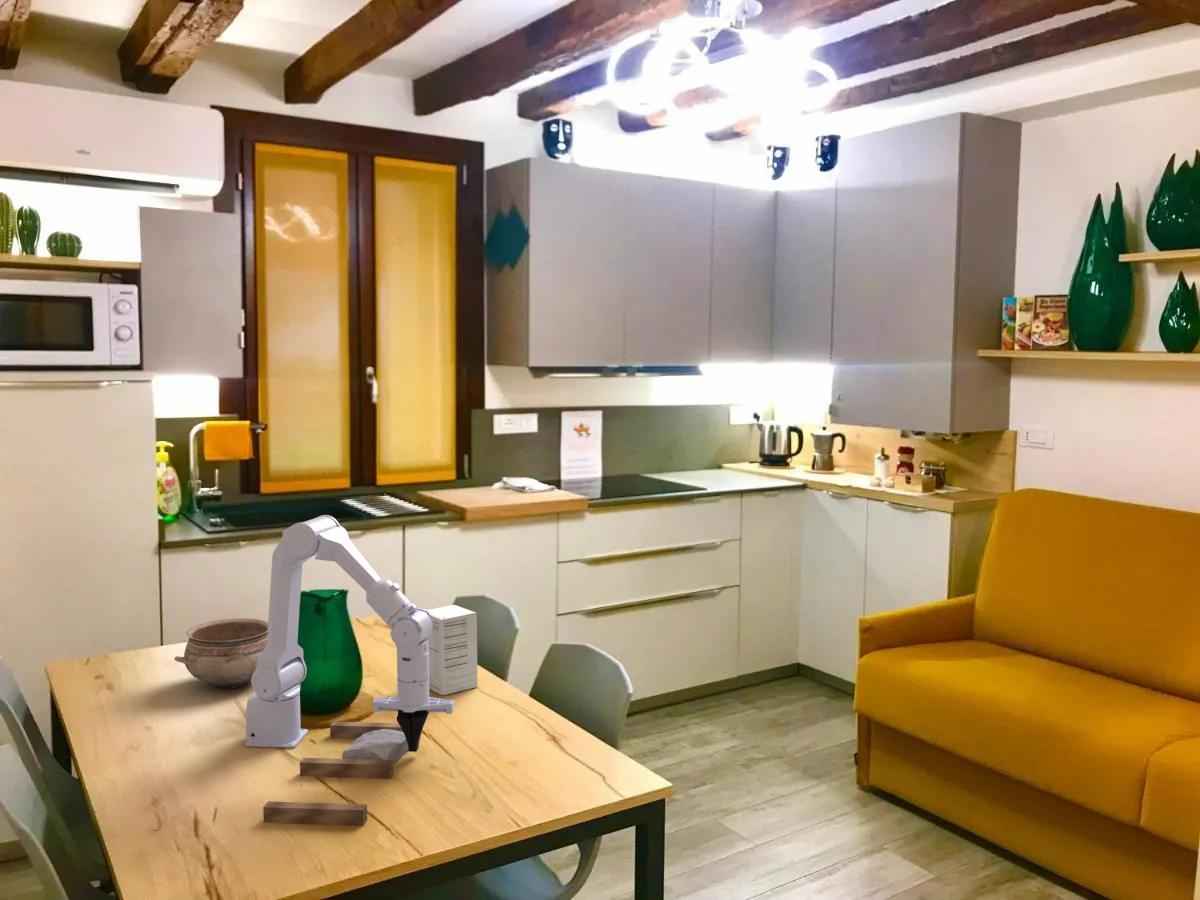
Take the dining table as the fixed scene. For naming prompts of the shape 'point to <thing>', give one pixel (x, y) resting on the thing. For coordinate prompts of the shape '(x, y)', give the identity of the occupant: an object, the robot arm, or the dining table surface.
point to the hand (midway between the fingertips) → (413, 749)
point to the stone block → (378, 746)
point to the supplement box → (453, 650)
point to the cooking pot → (225, 651)
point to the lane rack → (334, 768)
